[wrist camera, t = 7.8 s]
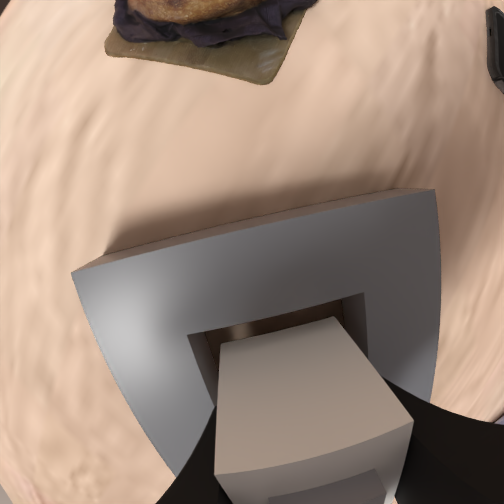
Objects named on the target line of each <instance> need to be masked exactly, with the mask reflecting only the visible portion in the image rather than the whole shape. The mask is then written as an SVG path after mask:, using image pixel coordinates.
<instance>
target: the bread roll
mask: <svg viewBox="0 0 504 504" xmlns="http://www.w3.org/2000/svg"><path fill="white" fill-rule="evenodd" d="M316 1H317V0H116V2H115V5H114V6H115V13H114V17H113V25H114V27H113V29H112V31H111V33H110V34H109V36H108V38H107V39H106V41H105V52H106V54H107V55H108V56H112V57H127V58H136V59H143V60H149V61H157V62H164V63H167V64H174V65H179V66H186V67H190V68H193V69H199V70H204V71H208V72H213V73H217V74H221V75H225V76H228V77H232V78H236V79H240V80H244V81H247V82H250V83H254V84H257V85H266V84H269V83H270V82H272V81H273V79H274V77H275V76H276V74H277V72H278V70H279V68H280V67H281V65H282V62H283V61H284V59H285V57H286V55H287V51H288V49H289V47H290V45H291V43H292V41H293V39H294V37H295V34H296V32H297V30H298V29H299V26H300V24H301V22H302V18H303V17H304V15H305V12H306V10H307V8H309V7H311V6H312V5H313V4H314V3H315V2H316Z"/></svg>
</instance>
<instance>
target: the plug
mask: <svg viewBox="0 0 504 504" xmlns="http://www.w3.org/2000/svg"><path fill="white" fill-rule="evenodd" d="M413 423H414V420H413V419H412V417H411V416H410V414H409V413H408V412H407V410H406V409H405V408H404V406H403V405H402V404H401V402H400V401H399V400H398V398H397V397H396V396H395V394H394V393H393V392H392V390H391V389H390V388H389V386H388V385H387V384H386V383H385V381H384V380H383V379H382V377H381V376H380V375H379V373H378V372H377V371H376V369H375V368H374V367H373V365H372V364H371V363H370V362H369V360H368V359H367V358H366V356H365V355H364V354H363V353H362V351H361V350H360V349H359V347H358V346H357V345H356V343H355V342H354V341H353V340H352V338H351V337H350V336H349V335H348V333H347V332H346V331H345V329H344V328H343V327H342V326H341V324H340V323H339V322H338V321H337V319H336V318H335V317H334V316H333V317H329V318H326V319H322V320H319V321H315V322H311V323H307V324H304V325H300V326H296V327H292V328H288V329H284V330H280V331H276V332H272V333H267V334H263V335H259V336H254V337H250V338H245V339H241V340H236V341H231V342H226V343H221V348H220V364H219V381H218V399H217V419H216V441H215V468H214V475H215V477H216V478H217V480H218V482H219V483H220V485H221V486H222V488H223V489H224V491H225V492H226V494H227V495H228V497H229V498H230V500H231V501H232V503H233V504H392V501H393V499H394V496H395V493H396V489H397V486H398V483H399V480H400V476H401V473H402V469H403V466H404V462H405V458H406V454H407V450H408V446H409V442H410V437H411V433H412V428H413Z"/></svg>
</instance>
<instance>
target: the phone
mask: <svg viewBox="0 0 504 504" xmlns="http://www.w3.org/2000/svg"><path fill="white" fill-rule="evenodd" d="M486 25H487V67H488V70H489V73H490V76H491V78H492V80H493V81H494V83H495V85H496V86H497V87H498V88H499V89H500V91H501V92H502V93H503V94H504V13H503V12H502V11H501V10H500V9H498V8H497V7H495V6H493V7H492V8H490V9H488V10H486ZM489 29H491V36H490V30H489Z"/></svg>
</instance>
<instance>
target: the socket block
mask: <svg viewBox="0 0 504 504" xmlns="http://www.w3.org/2000/svg"><path fill="white" fill-rule="evenodd" d="M71 275H72V278H73V281H74V284H75V287H76V290H77V293H78V296H79V298H80V301H81V304H82V307H83V309H84V312H85V314H86V317H87V320H88V322H89V325H90V327H91V329H92V332H93V334H94V337H95V339H96V341H97V343H98V346H99V348H100V350H101V352H102V355H103V357H104V359H105V361H106V363H107V365H108V367H109V369H110V371H111V373H112V375H113V377H114V379H115V381H116V383H117V385H118V387H119V389H120V391H121V393H122V394H123V396H124V398H125V400H126V402H127V403H128V405H129V407H130V409H131V410H132V412H133V414H134V416H135V417H136V419H137V421H138V422H139V424H140V425H141V427H142V429H143V430H144V432H145V433H146V435H147V437H148V438H149V440H150V441H151V443H152V444H153V446H154V447H155V449H156V450H157V452H158V453H159V455H160V456H161V457H162V459H163V460H164V462H165V463H166V464H167V466H168V467H169V469H170V470H171V471H172V473H173V474H174V475H175V477H177V476H178V475H179V473H180V471H181V470H182V468H183V467H184V465H185V464H186V462H187V460H188V459H189V457H190V456H191V454H192V452H193V450H194V448H195V446H196V445H197V443H198V441H199V439H200V437H201V435H202V433H203V431H204V429H205V427H206V425H207V422H208V420H209V418H210V415H211V413H212V411H213V409H214V407H215V406H217V399H218V381H219V374H218V371H217V368H216V365H215V362H214V359H213V356H212V353H211V350H210V347H209V344H208V341H207V338H206V335H205V332H204V331H209V330H214V329H219V328H224V327H228V326H233V325H238V324H242V323H247V322H251V321H256V320H260V319H264V318H268V317H273V316H277V315H281V314H285V313H289V312H293V311H297V310H301V309H305V308H309V307H312V306H316V305H320V304H324V303H327V302H331V301H334V300H338V299H342V307H343V316H344V325H345V331H346V332H347V333H348V335H349V336H350V337H351V338H352V340H353V341H354V342H355V343H356V345H357V346H358V347H359V349H360V350H361V351H362V353H363V354H364V355H365V356H366V358H367V359H368V360H369V362H370V363H371V364H372V365H373V367H374V368H375V369H376V371H377V372H378V373H379V375H381V376H382V377H384V378H385V379H387V380H389V381H390V382H392V383H394V384H395V385H397V386H399V387H400V388H402V389H404V390H405V391H407V392H409V393H411V394H413V395H415V396H416V397H418V398H420V399H422V400H424V401H426V402H428V403H430V398H431V392H432V387H433V380H434V374H435V367H436V359H437V350H438V340H439V327H440V310H441V254H440V236H439V223H438V213H437V204H436V196H435V189H407V188H397V189H391V190H386V191H380V192H375V193H370V194H364V195H359V196H354V197H349V198H344V199H339V200H334V201H329V202H324V203H319V204H315V205H310V206H305V207H300V208H296V209H291V210H286V211H282V212H277V213H273V214H268V215H264V216H259V217H255V218H251V219H246V220H242V221H237V222H233V223H229V224H225V225H220V226H216V227H212V228H208V229H204V230H200V231H196V232H191V233H187V234H183V235H179V236H175V237H171V238H167V239H164V240H160V241H156V242H152V243H148V244H144V245H140V246H137V247H133V248H129V249H125V250H122V251H118V252H114V253H111V254H107V255H103V256H101V257H99V258H97V259H95V260H93V261H91V262H89V263H88V264H86V265H84V266H82V267H80V268H79V269H77V270H75V271H73V272H71Z"/></svg>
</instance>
